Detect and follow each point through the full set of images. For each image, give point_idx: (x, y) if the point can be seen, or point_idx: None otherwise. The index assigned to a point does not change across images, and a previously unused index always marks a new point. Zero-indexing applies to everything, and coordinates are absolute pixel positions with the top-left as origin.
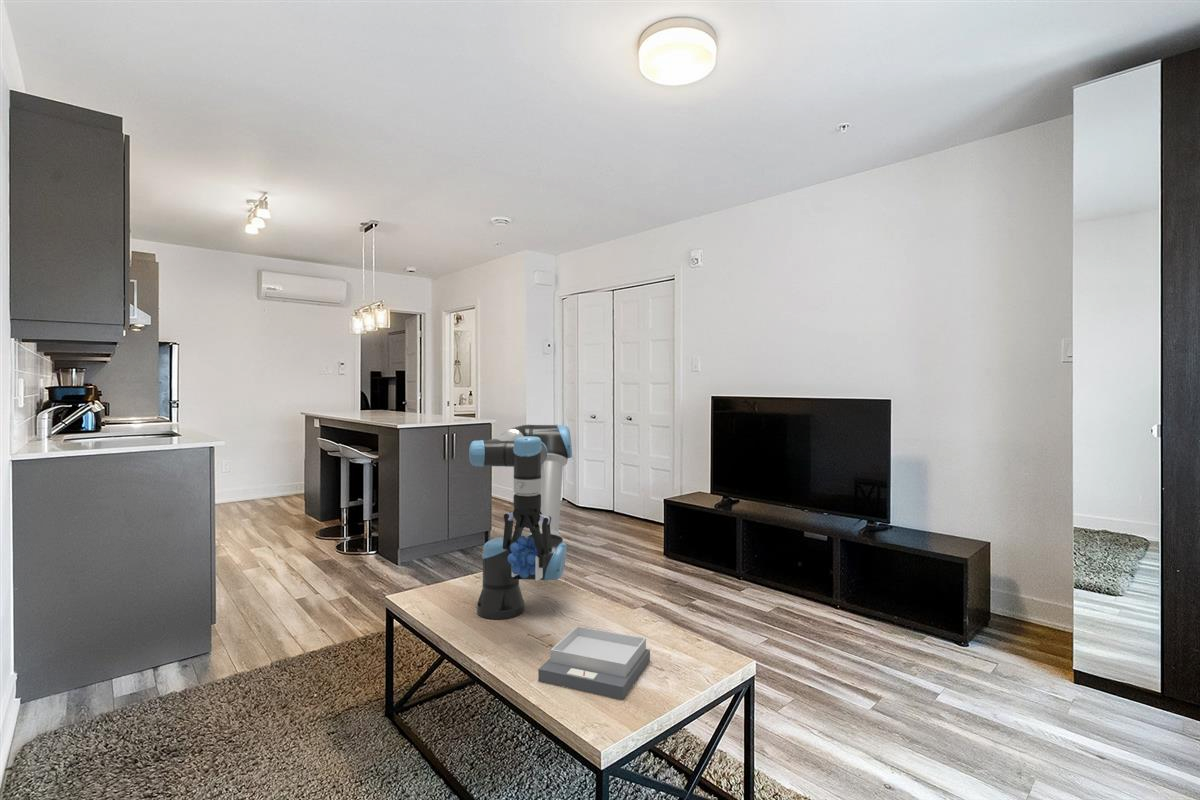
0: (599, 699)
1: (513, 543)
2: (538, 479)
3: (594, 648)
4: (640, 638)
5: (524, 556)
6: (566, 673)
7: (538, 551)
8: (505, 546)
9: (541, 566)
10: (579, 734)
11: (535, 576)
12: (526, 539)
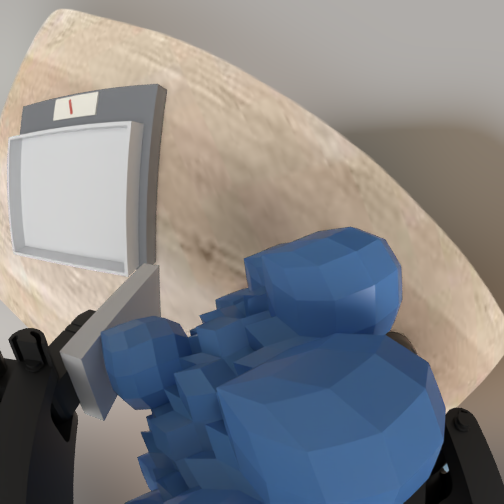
0: (60, 90)
1: (392, 490)
2: None
3: (80, 212)
4: (19, 252)
5: (197, 362)
6: (100, 95)
7: (32, 385)
8: (458, 431)
9: (88, 315)
10: (75, 11)
11: (150, 274)
12: None
